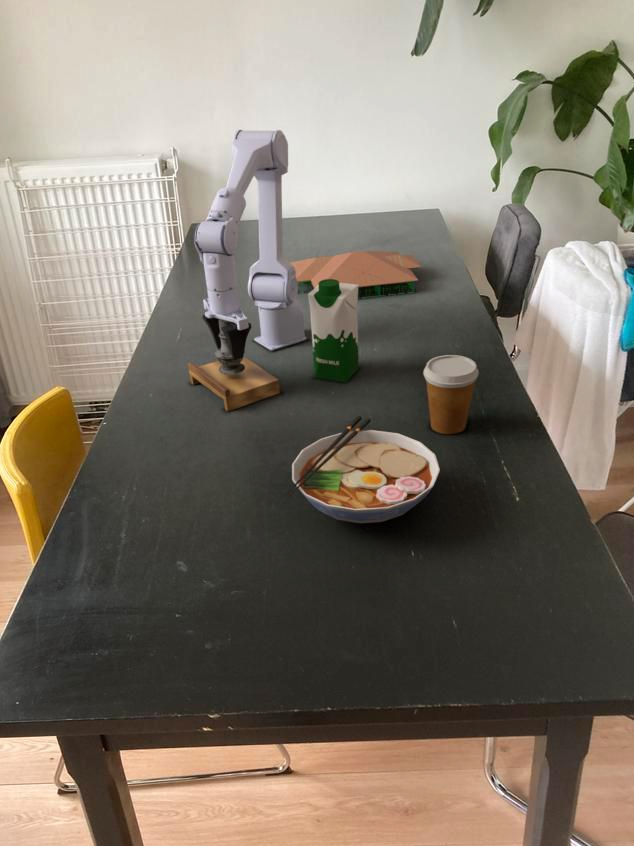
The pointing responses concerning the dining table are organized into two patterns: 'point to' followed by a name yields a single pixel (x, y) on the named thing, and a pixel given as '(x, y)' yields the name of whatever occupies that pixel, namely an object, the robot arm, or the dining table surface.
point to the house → (359, 269)
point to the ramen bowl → (365, 474)
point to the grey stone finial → (227, 354)
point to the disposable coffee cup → (450, 391)
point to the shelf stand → (235, 383)
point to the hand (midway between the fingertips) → (230, 352)
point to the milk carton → (334, 329)
